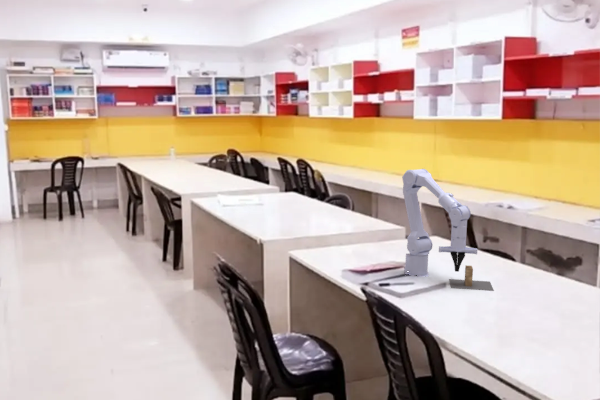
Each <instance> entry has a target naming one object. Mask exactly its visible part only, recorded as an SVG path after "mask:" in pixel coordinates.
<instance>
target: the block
mask: <svg viewBox="0 0 600 400" xmlns="http://www.w3.org/2000/svg"><path fill="white" fill-rule="evenodd" d="M473 273H474V268H473V266H472V265H465V268H464V280H465V286H471V287H472V280H473Z"/></svg>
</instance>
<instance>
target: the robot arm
mask: <svg viewBox="0 0 600 400" xmlns="http://www.w3.org/2000/svg"><path fill="white" fill-rule="evenodd" d="M402 183H403V185H402V195H403V200H404V204H405V210H406V214H407V220H408V225H409V230H410V232H409V234H408V236H407V238H406V239H407V242H406V243H407V244H406V247H407V248H406V249H407V251H408V253H405V263H404V264H405V266H404V270H403V271H404V275H405V274H409V275H413V276H412V277H415V276H414V275H417V276H416V277H423V276H425V277H427V278H428V277H429V271H428V270H429V269H428V268H429V267H428V265H429V255H430V251H431V250H432V249H433V241H432V240H431V238H430V235H429V233H428V232H427V231H426V230H425V229H424V228H425V227H424V223H423V218H422V213H421V207H420V201H419V199H418V192H419V190H420V189H421V188H422V187H425V188H426V189H427V190H428V191H429V192H430V193H431V194H433V196H435V197H436V198H437V199H438V203H439V205H440V206H441V207H442V208H443V209H444V210H445V211H446V212H447V213H448V217H449V220H450V224H451V230H450V231H451V232H450V234H451V235H450V246H441V245H440V246H438V253H450V256H451V258H452V262H453V264H454V272H460V267H461V265H462V262H463V260H464V259H465V257H466V254H472V255H478V248H476V247H475V248H474V247H467V246H466V245H467V228H468V220H469V219H470V217H471V210H470V208H469V207H468V205H466V204H465V205H463V204H462V203H461V202H460V201H458V200H457V199H456V198H455V197H454V194H453V193H450V192H445V191H444V190H443V188H441V186H440V185H439V184H438V183H437V182H436V180H434V178H433V177H432V173H430V172H429V171H428V170H427V169H425V168H420V169H407V170H406V171H405V172H404V173H403V175H402ZM407 271H409V272H407ZM425 277H424V278H425Z"/></svg>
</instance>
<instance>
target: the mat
mask: <svg viewBox="0 0 600 400" xmlns="http://www.w3.org/2000/svg"><path fill="white" fill-rule="evenodd" d="M448 282H449V285H450V286H449V287H450V289H458V290H473V291H485V292H486V291H490V292H494V291H495V290H494V287H493V285H492V283H491V281H487V280H486V281H485V280H473V279H472V287H471V286H465V279H454V278H448Z"/></svg>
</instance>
